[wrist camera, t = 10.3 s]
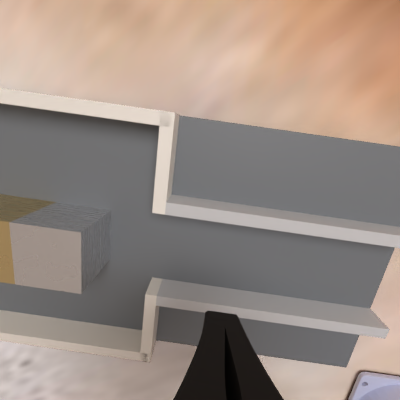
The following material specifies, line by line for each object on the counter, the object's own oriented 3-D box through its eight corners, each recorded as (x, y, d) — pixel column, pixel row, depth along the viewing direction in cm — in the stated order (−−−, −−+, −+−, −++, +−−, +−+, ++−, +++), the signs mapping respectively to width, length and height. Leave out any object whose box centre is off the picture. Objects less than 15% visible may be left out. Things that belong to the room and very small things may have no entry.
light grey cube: (109, 259, 18) (81, 294, 14) (57, 251, 18) (15, 284, 14) (111, 210, 17) (81, 232, 13) (55, 202, 17) (9, 222, 13)
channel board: (339, 356, 20) (361, 392, 18) (-29, 303, 20) (-69, 330, 18) (419, 150, 16) (467, 154, 13) (-65, 82, 16) (-127, 69, 13)
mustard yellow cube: (57, 251, 18) (15, 284, 14) (5, 244, 18) (-52, 274, 14) (55, 202, 17) (9, 222, 13) (0, 194, 17) (-63, 211, 13)
